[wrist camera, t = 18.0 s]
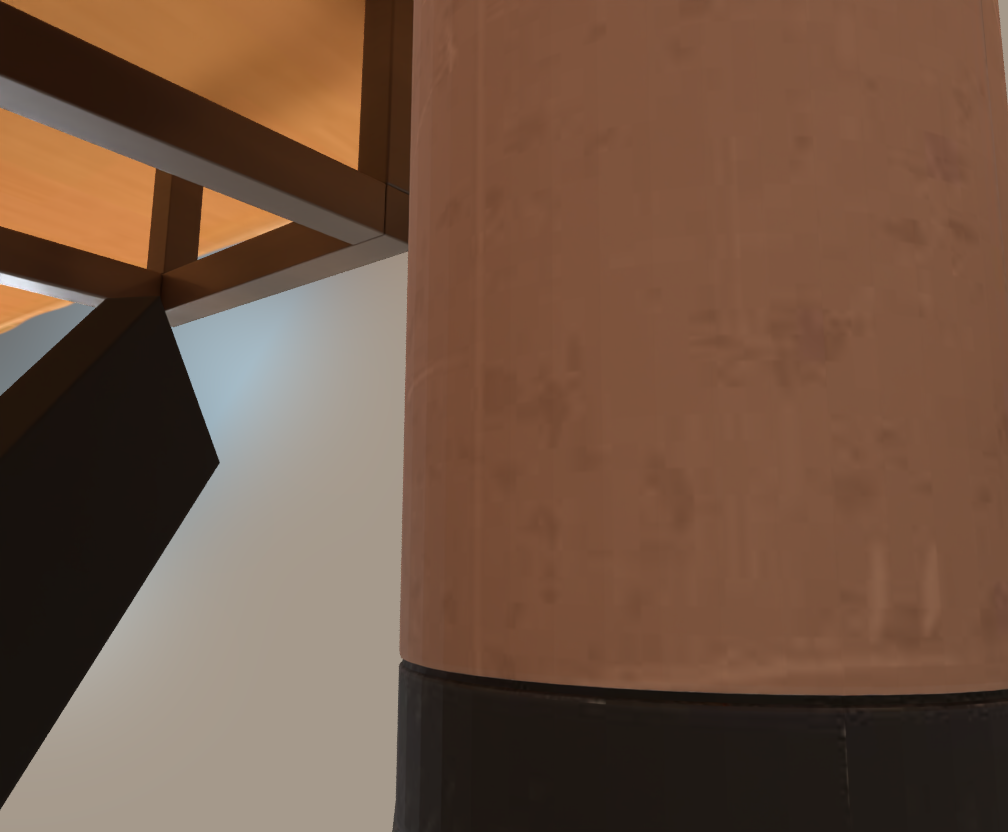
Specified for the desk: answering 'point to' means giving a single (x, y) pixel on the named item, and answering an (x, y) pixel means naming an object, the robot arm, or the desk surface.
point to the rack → (213, 172)
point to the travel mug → (705, 418)
